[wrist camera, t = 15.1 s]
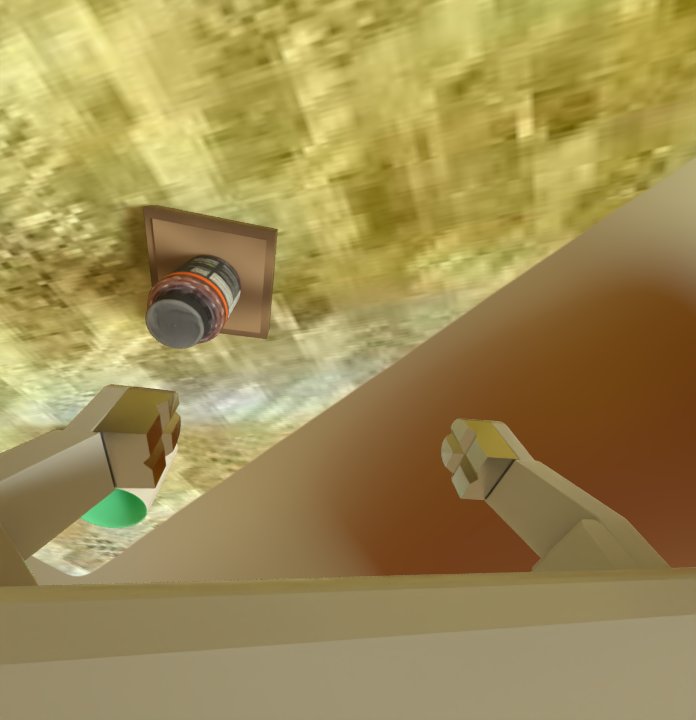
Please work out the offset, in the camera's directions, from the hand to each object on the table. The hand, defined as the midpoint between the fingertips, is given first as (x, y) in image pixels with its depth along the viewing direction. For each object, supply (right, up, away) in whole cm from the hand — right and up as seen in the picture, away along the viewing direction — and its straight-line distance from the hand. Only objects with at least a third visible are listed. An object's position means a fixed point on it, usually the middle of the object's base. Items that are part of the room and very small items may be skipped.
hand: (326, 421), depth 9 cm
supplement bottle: (-14, +10, +23) cm, 28 cm away
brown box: (-14, +12, +26) cm, 31 cm away
